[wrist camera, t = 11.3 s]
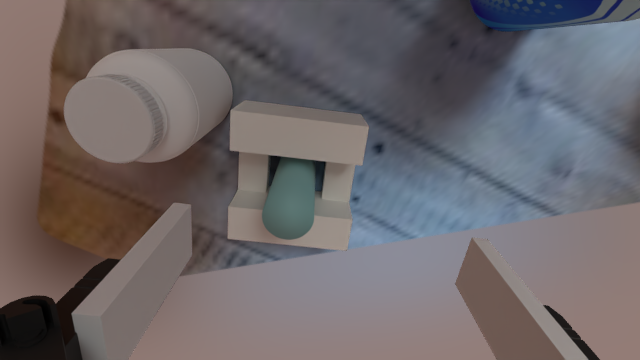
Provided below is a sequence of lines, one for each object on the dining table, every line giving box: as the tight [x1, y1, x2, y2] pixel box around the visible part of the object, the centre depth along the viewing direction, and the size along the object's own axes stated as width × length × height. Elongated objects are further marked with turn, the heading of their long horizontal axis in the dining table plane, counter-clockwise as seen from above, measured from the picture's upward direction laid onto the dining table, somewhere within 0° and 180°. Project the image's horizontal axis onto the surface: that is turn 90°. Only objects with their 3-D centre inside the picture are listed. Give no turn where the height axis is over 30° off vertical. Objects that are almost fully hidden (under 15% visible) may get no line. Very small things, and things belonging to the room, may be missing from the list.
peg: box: [262, 157, 316, 240], centre depth 31 cm, size 4×4×12 cm
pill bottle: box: [64, 48, 233, 164], centre depth 26 cm, size 8×8×15 cm
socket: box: [228, 100, 369, 251], centre depth 34 cm, size 13×12×6 cm
